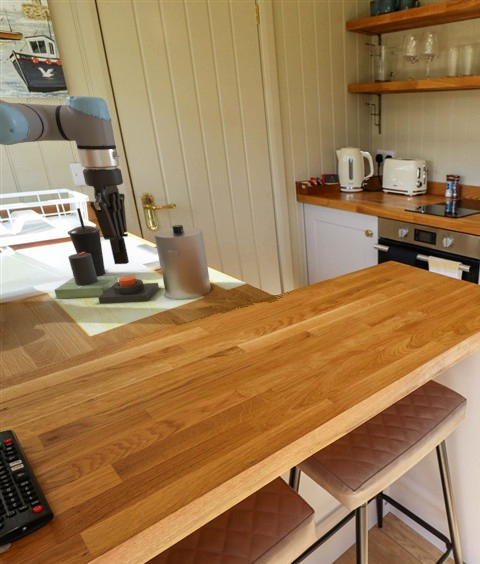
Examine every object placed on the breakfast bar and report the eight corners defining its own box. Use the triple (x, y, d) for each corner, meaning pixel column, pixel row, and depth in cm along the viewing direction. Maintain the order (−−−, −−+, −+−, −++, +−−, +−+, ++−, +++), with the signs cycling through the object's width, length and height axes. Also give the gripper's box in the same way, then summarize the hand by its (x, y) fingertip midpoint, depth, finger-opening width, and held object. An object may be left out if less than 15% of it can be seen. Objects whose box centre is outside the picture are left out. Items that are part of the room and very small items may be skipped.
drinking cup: (73, 278, 124) (54, 210, 117) (96, 269, 131) (79, 205, 124) (94, 280, 122) (76, 211, 115) (116, 272, 129) (101, 206, 122)
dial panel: (57, 300, 109) (53, 289, 107) (75, 287, 117) (72, 277, 116) (104, 298, 111) (101, 287, 109) (119, 285, 119) (116, 275, 118)
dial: (92, 285, 111) (85, 256, 108) (72, 286, 110) (64, 257, 107) (101, 278, 115) (94, 251, 112) (81, 279, 114) (73, 252, 112)
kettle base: (100, 305, 106) (96, 290, 105) (115, 292, 114) (112, 278, 113) (147, 303, 108) (144, 288, 107) (159, 290, 116) (156, 276, 115)
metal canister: (204, 302, 109) (192, 232, 102) (158, 305, 107) (143, 233, 100) (216, 283, 122) (206, 219, 115) (175, 285, 120) (162, 220, 113)
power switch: (117, 287, 108) (116, 281, 107) (123, 282, 111) (122, 276, 111) (133, 286, 109) (131, 280, 108) (138, 281, 112) (137, 275, 111)
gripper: (106, 171, 94) (127, 271, 102) (130, 165, 106) (147, 255, 114) (68, 170, 93) (93, 272, 101) (96, 164, 105) (116, 256, 113)
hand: (121, 263), depth 108 cm, fingers closed
